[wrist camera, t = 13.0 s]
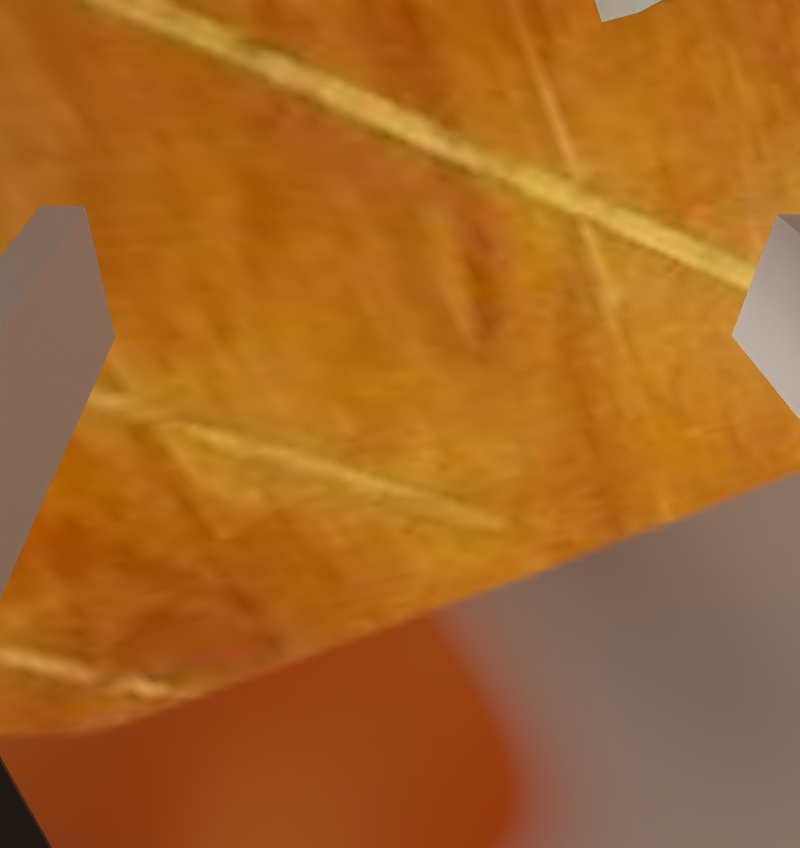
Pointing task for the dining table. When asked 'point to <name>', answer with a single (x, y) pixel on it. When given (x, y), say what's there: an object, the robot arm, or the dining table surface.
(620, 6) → the tray
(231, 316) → the dining table surface
